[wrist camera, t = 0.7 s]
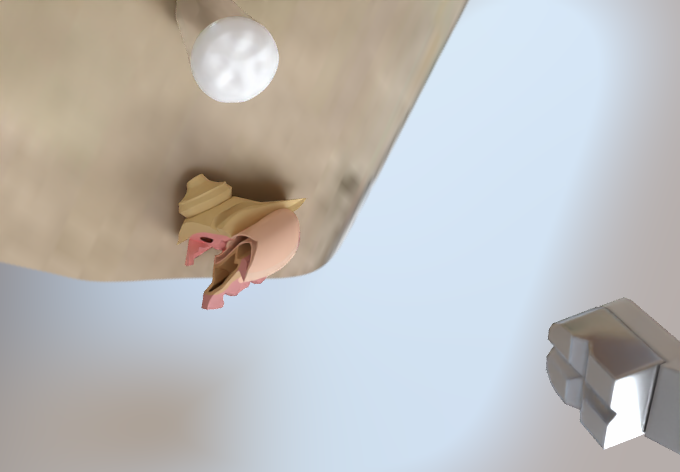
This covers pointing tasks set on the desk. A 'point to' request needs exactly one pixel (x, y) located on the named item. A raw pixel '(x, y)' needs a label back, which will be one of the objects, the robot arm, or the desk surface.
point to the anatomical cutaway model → (236, 236)
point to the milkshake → (226, 49)
